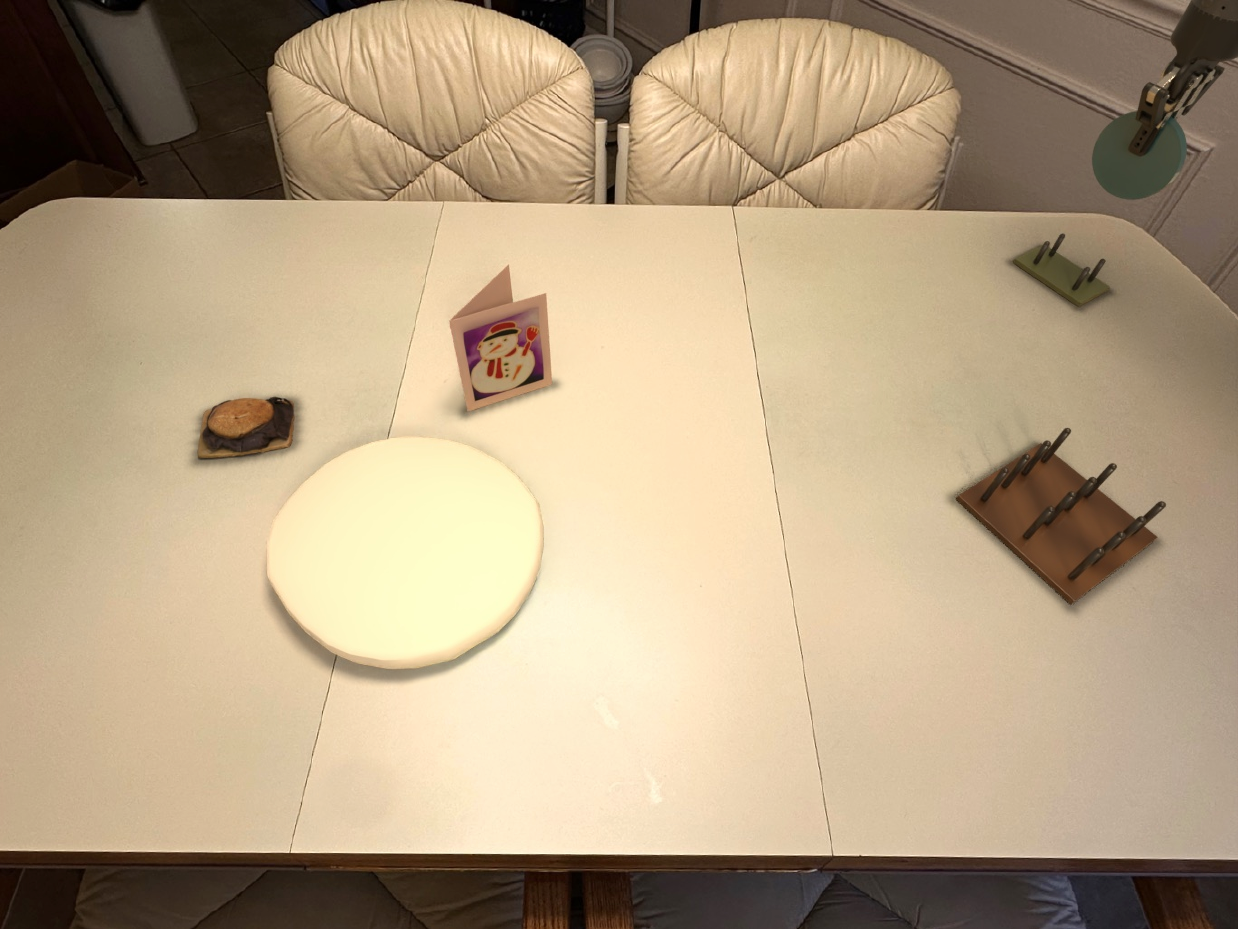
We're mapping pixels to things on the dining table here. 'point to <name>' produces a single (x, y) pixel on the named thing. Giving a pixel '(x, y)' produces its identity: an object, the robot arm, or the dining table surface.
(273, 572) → the plate
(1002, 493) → the dish rack
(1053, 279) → the drying stand
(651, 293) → the dining table surface
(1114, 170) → the small plate
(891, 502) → the dining table surface
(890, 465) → the dining table surface
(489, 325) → the greeting card
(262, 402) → the brown piece
